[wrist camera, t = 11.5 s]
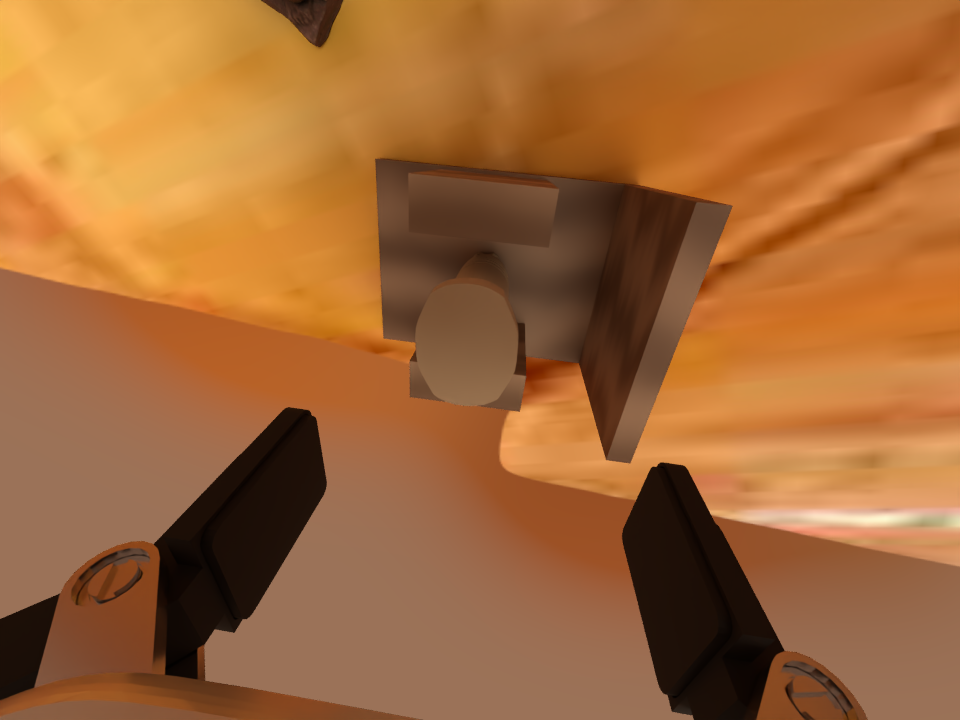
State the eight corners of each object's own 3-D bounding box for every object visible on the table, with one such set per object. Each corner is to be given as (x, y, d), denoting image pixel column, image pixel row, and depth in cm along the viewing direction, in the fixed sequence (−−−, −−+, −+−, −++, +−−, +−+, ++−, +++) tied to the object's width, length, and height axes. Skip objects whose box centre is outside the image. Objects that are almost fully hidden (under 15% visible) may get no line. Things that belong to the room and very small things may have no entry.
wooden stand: (382, 158, 29) (278, 158, 16) (639, 185, 28) (732, 205, 15) (388, 331, 36) (320, 420, 24) (592, 357, 35) (630, 463, 23)
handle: (457, 304, 32) (418, 402, 19) (457, 228, 29) (412, 280, 16) (512, 308, 32) (512, 409, 19) (518, 231, 29) (523, 286, 16)
